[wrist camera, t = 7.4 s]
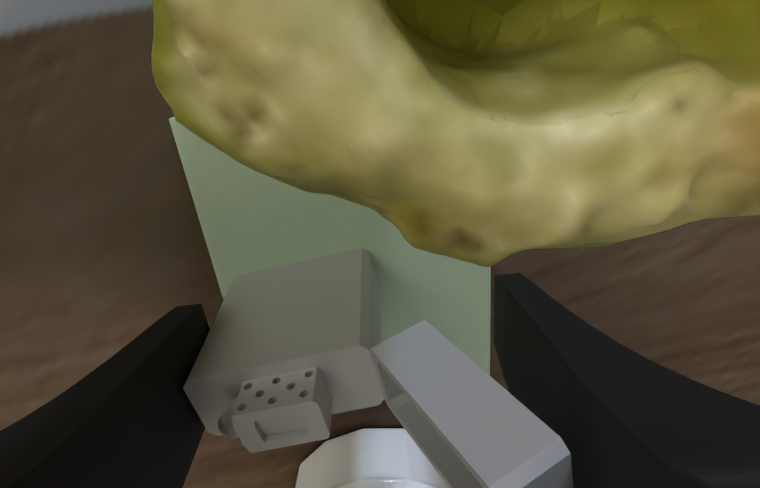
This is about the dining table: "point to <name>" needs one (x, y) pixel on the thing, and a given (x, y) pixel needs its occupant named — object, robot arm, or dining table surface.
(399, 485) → the white cup
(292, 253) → the sticky note
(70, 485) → the robot arm
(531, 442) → the lighter
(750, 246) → the dining table surface
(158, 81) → the fennel bulb
